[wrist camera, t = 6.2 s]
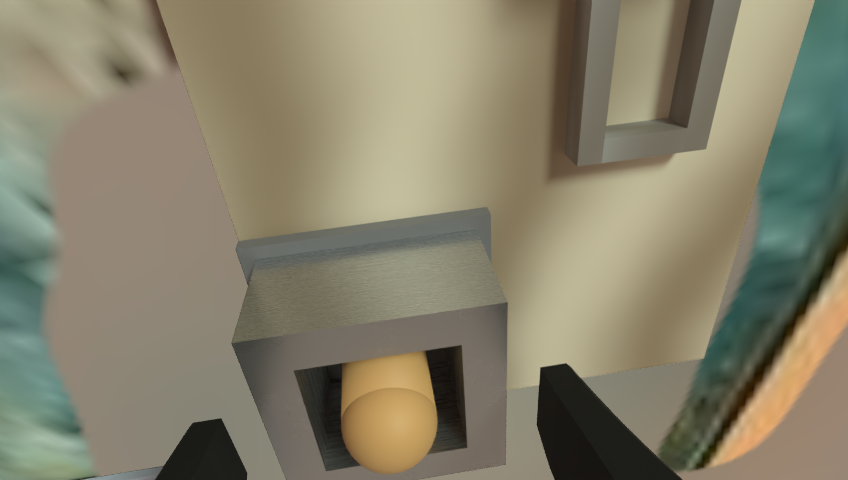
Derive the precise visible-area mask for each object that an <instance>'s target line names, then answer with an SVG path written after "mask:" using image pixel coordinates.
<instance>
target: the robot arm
mask: <svg viewBox="0 0 848 480" xmlns="http://www.w3.org/2000/svg"><path fill="white" fill-rule="evenodd" d="M537 427H538V430H539V434H540V437H541V440H542V443H543V447H544V450H545V454H546V457H547V460H548V463H549V466H550V469H551V472H552V474H553V476H554V479H555V480H682V479H681V478H680V477H679V476H678V475H677V474H676V473H675V472H674V471H672V470H671V469H670V468H669V467H668V466H667V465H666V464H665V463H664V462H662V461H661V460H660V459H659V458H658V457H657V456H656V455H655V454H654V453H653V452H652V451H651V450H650V449H649V448H648V447H646V446H645V445H644V444H643V443H642V442H641V441H640V440H639V439H638V438H637V437H636V436H635V435H634V434H633V433H632V432H631V431H630V430H629V429H628V428H627V427H626V426H625V425H624V424H623V423H622V422H621V421H620V420H619V419H618V418H617V417H616V416H615V415H614V414H613V413H612V412H611V410H610V409H609V408H608V407H607V406H606V405H605V404H604V403H603V402H602V401H601V400H600V399H599V398H598V397H597V396H596V394H595V393H594V392H593V391H592V390H591V389H590V388H589V387H588V386H587V385H586V383H585V382H584V381H583V380H582V379H581V378H580V377H579V376H578V374H577V373H576V372H575V371H574V370H573V369H572V367H571V366H569V365H568V364H567V363H564V364H558V365H552V366H545V367H540V380H539V397H538V413H537ZM82 480H247V472H246V469H245V467H244V465H243V463H242V461H241V459H240V457H239V455H238V453H237V450H236V448H235V447H234V444H233V442H232V440H231V438H230V436H229V434H228V432H227V430H226V427H225V426H224V423H223V421H222V419H215V420H208V421H202V422H195V423H193V424H192V425H191V426H190V427H189V429H188V430H187V432H186V433H185V435H184V436H183V438H182V440H181V441H180V442H179V444H178V445H177V447H176V449H175V450H174V452H173V453H172V455H171V456H170V458H169V459H168V461H167V462H166V464H165V465H164V466H161V467H155V468H149V469H143V470H137V471H131V472H125V473H119V474H112V475H106V476H100V477H94V478H88V479H82Z"/></svg>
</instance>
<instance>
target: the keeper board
mask: <svg viewBox="0 0 848 480" xmlns="http://www.w3.org/2000/svg"><path fill="white" fill-rule="evenodd" d="M156 1H157V4H158V7H159V10H160V13H161V16H162V19H163V21H164V24H165V27H166V30H167V33H168V36H169V39H170V42H171V45H172V48H173V51H174V54H175V56H176V59H177V62H178V65H179V68H180V71H181V74H182V77H183V80H184V83H185V85H186V89H187V92H188V94H189V97H190V100H191V103H192V106H193V109H194V111H195V114H196V118H197V121H198V123H199V126H200V129H201V132H202V135H203V138H204V141H205V144H206V146H207V150H208V153H209V156H210V159H211V162H212V164H213V167H214V170H215V173H216V176H217V179H218V182H219V185H220V188H221V191H222V194H223V197H224V200H225V202H226V205H227V208H228V211H229V214H230V217H231V220H232V223H233V226H234V228H235V231H236V235H237V237H238V240H239V241H243V240H250V239H257V238H265V237H272V236H279V235H286V234H294V233H301V232H308V231H315V230H323V229H330V228H337V227H344V226H352V225H359V224H366V223H373V222H381V221H388V220H395V219H403V218H410V217H417V216H424V215H432V214H439V213H446V212H453V211H461V210H468V209H475V208H482V207H487V208H488V210H489V212H490V214H491V265H492V267H493V269H494V271H495V274H496V276H497V278H498V281H499V283H500V285H501V288H502V290H503V292H504V295H505V297H506V299H507V302H508V324H507V390H511V389H518V388H524V387H530V386H536V385H539V380H540V367H545V366H552V365H558V364H564V363H567V364H568V365H569V366H571V367H572V369H573V370H574V371H575V372H576V373H577V374H578V376H579V377H580V378H585V377H591V376H598V375H604V374H610V373H616V372H623V371H629V370H635V369H641V368H647V367H653V366H660V365H666V364H672V363H678V362H683V361H690V360H697V359H703V358H704V355H705V352H706V349H707V345H708V342H709V339H710V336H711V333H712V329H713V326H714V323H715V320H716V317H717V313H718V310H719V306H720V304H721V300H722V297H723V294H724V291H725V288H726V284H727V281H728V278H729V275H730V271H731V268H732V265H733V262H734V259H735V255H736V252H737V249H738V246H739V242H740V239H741V236H742V233H743V230H744V226H745V223H746V220H747V217H748V214H749V210H750V207H751V204H752V201H753V197H754V194H755V191H756V188H757V185H758V181H759V178H760V175H761V172H762V169H763V165H764V162H765V159H766V156H767V152H768V149H769V146H770V143H771V140H772V136H773V133H774V130H775V127H776V124H777V120H778V117H779V114H780V111H781V107H782V104H783V101H784V98H785V95H786V91H787V88H788V85H789V82H790V78H791V75H792V72H793V69H794V66H795V62H796V59H797V56H798V53H799V50H800V46H801V43H802V40H803V37H804V33H805V30H806V27H807V24H808V21H809V17H810V14H811V11H812V8H813V5H814V1H815V0H156Z"/></svg>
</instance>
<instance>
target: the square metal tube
mask: <svg viewBox="0 0 848 480" xmlns="http://www.w3.org/2000/svg"><path fill="white" fill-rule="evenodd" d="M507 324H508V302H507V299H506V297H505V295H504V292H503V290H502V288H501V285H500V283H499V281H498V278H497V276H496V274H495V271H494V269H493V267H492V265H491V262H490V260H489V258H488V255H487V253H486V251H485V248H484V246H483V244H482V241H481V239H480V237H479V234H478V232H477V230H476V229H471V230H464V231H457V232H450V233H442V234H435V235H428V236H421V237H413V238H406V239H399V240H391V241H384V242H377V243H370V244H362V245H355V246H348V247H340V248H333V249H326V250H319V251H311V252H304V253H297V254H289V255H282V256H275V257H268V258H260V259H256V262H255V265H254V268H253V272H252V275H251V278H250V282H249V285H248V289H247V292H246V296H245V299H244V302H243V306H242V309H241V312H240V316H239V319H238V322H237V326H236V329H235V333H234V336H233V340H232V346H233V348H234V350H235V353H236V356H237V358H238V361H239V363H240V365H241V368H242V371H243V373H244V376H245V378H246V381H247V383H248V386H249V388H250V391H251V393H252V396H253V398H254V401H255V403H256V405H257V408H258V411H259V413H260V416H261V418H262V421H263V423H264V426H265V428H266V431H267V433H268V436H269V438H270V440H271V443H272V445H273V448H274V450H275V453H276V456H277V458H278V461H279V463H280V466H281V468H282V471H283V473H284V475H285V478H286V480H418V479H424V478H430V477H436V476H441V475H447V474H454V473H460V472H465V471H471V470H477V469H483V468H488V467H494V466H500V465H506V398H507V395H506V394H507ZM445 347H447V359H448V362H441V363H435V364H428V367H429V372H430V378H431V383H432V389H433V394H434V400H435V405H436V411H437V432H436V436H435V439H434V442H433V444H432V447H431V448H430V450H429V452H428V453H427V455H426V456H425V457H424V458H423V459H422V460H421V461H420V462H419V463H418V464H416V465H415V466H414V467H412V468H410V469H408V470H406V471H404V472H400V473H396V474H380V473H376V472H373V471H370V470H368V469H366V468H364V467H363V466H362V465H360V464H359V463H358V462H357V461H356V460H355V459H354V458H353V457H352V456H351V454H350V453H349V451H348V450H347V448H346V445H345V443H344V440H343V436H342V431H341V400H342V378H338V379H331V380H330V377H329V373H328V370H327V365H334V364H340V363H347V362H353V361H360V360H366V359H373V358H380V357H386V356H393V355H399V354H406V353H412V352H419V351H425V350H432V349H438V348H445Z"/></svg>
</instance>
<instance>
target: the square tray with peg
mask: <svg viewBox="0 0 848 480" xmlns="http://www.w3.org/2000/svg"><path fill="white" fill-rule="evenodd" d="M471 229H476V230H477V232H478V234H479V237H480V239H481V241H482V244H483V246H484V248H485V251H486V253H487V255H488V258H489V260H490V262H491V214H490V212H489V210H488V208H487V207H482V208H475V209H468V210H461V211H453V212H446V213H439V214H432V215H424V216H417V217H410V218H403V219H395V220H388V221H381V222H373V223H366V224H359V225H352V226H344V227H337V228H330V229H323V230H315V231H308V232H301V233H294V234H286V235H279V236H272V237H265V238H257V239H250V240H243V241H239V242H238V244H237V247H236V252H237V255H238V258H239V261H240V264H241V266H242V269H243V272H244V275H245V278H246V281H247V284H248V285H249V282H250V278H251V275H252V272H253V268H254V265H255V262H256V259H260V258H268V257H275V256H282V255H289V254H297V253H304V252H311V251H319V250H326V249H333V248H340V247H348V246H355V245H362V244H370V243H377V242H384V241H391V240H399V239H406V238H413V237H421V236H428V235H435V234H442V233H450V232H457V231H464V230H471ZM441 362H448V359H447V347H445V348H438V349H432V350H425V351H419V352H412V353H406V354H399V355H393V356H386V357H380V358H373V359H366V360H360V361H353V362H347V363H340V364H334V365H327V370H328V373H329V377H330V380H331V379H338V378H342V400H341V431H342V436H343V440H344V443H345V445H346V448H347V450H348V451H349V453H350V454H351V456H352V457H353V458H354V459H355V460H356V461H357V462H358V463H359V464H360V465H362V466H363V467H364V468H366V469H368V470H370V471H373V472H376V473H380V474H396V473H400V472H404V471H406V470H408V469H410V468H412V467H414V466H415V465H416V464H418V463H419V462H420V461H421V460H422V459H423V458H424V457H425V456H426V455H427V453H428V452H429V450H430V448H431V447H432V444H433V442H434V439H435V436H436V432H437V411H436V405H435V400H434V394H433V389H432V383H431V378H430V372H429V367H428V364H435V363H441Z"/></svg>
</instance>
